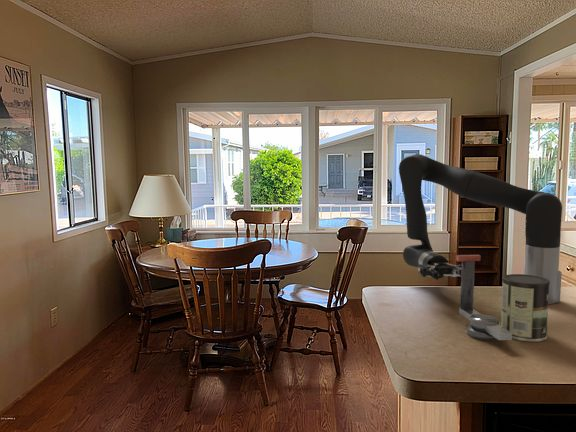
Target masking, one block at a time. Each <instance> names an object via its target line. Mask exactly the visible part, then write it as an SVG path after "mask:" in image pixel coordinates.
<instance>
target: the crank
mask: <svg viewBox="0 0 576 432" xmlns="http://www.w3.org/2000/svg"><path fill="white" fill-rule="evenodd" d="M455 255H456V254H455ZM481 257H482V256H481V255H480V254H457V255H456V256H455V261H456V262H461V264H462V268H461V277H460V301H459V303H460V304H459V313H458V314H460V315H462V317H464V318H465V319H467V320H468V321H470V323H469V324H470V327H471V328H472V329H474V330H477V331H481V332H488V333H489V334H491V335H492V336H494V337H495V338H497V339H498V340H497V341H512V340H513V339H512V333H511V332H510V331H508V330H507V329H505V328H503V327H502V326H501V324H500V319H499V318H498V317H496V316H495V315H494V316H493V315H491V314H485V313H480V312H478V311H477V310H476V309H474V293H475V292H474V291H475V268H476V267H475V265H476V263H475V262H481Z"/></svg>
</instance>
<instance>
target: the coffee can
mask: <svg viewBox="0 0 576 432" xmlns="http://www.w3.org/2000/svg"><path fill="white" fill-rule="evenodd" d="M501 279H502V290H501V291H502V294H501V295H502V299H501V323H500V326H502V327H503V328H505V329H507V330H508V331H510V332H511V333H512V340H515V341H516V340H517V341H523V342H531V343H532V342H534V343H536V342H537V343H539V342H542V341H543V342H544V341H546V340H547V338H548V313H549V304H548V297H549V285H550V281H549V280H548V279H546V278H543V277H539V276H533V275H524V273H512V274H506V275H503V276H502V278H501Z"/></svg>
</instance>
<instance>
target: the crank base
mask: <svg viewBox="0 0 576 432" xmlns="http://www.w3.org/2000/svg"><path fill="white" fill-rule="evenodd" d="M466 334H467V336H468V337H471V338H472V339H475V340H479V341H485V342H486V341H487V342H495V341H499V340H498V339H497V338H495V337H494V336H492V335H491V334H489V333H488V332H481V331H477V330H474V329H472V328H471V327H470V323H469V324H468V325H466Z"/></svg>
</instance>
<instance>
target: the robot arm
mask: <svg viewBox="0 0 576 432" xmlns="http://www.w3.org/2000/svg"><path fill="white" fill-rule="evenodd" d="M398 173H399V178H400V183H401V187H402V191H403V196H404V197H403V198H404V204H405V216H406V234H407V237H408V239H410V240H415V241H420V242H421V244H415V245H413V244H412V245H407V246H406V247H404V249H403V250H402V251H403V252H402V257H403V260H404V263H405V264H407V265H408V266H411V267H412V268H413V267H414V268H418V269H417V270H418V274H419V275H420V276H421V277H423V278H425V277H427V276H428V277H429V278H432V279H434V280H435V281H436V280H439V279H443V278H444V277H453V278H455V277H460V278H461V268H462V263H459V264H457V265H456V264H452V263H450V262H449V260H448V259H447V258H446V257H445V256H443V255H441V254H440V253H438V252H436V251H434V250H433V247H432V245H431V242H430V238H429V234H428V218H427V213H426V208H425V205H424V201H423V196H422V182H423V181H425V182H428V183H429V182H430V183H434V184H437V185H441V186H442V187H444V188H446V189H447V190H449V191H451V192H452V193H454V194H455V195H458V196H460V197H461V198H465V199H467V200H470V201H474V202H476V203H480V204H484V205H489V206H496V207H501V208H507V209H510V210H513V211H516V212H519V213H521V214H524V215H525V227H524V228H525V232H524V233H525V245H524V246H525V247H524V266H523V275H533V276H539V277H543V278H546V279H548V280H549V281H550V285H549V297H548V305H555V304H556V303H561V293H562V291H561V290H562V289H561V288H562V275H563V274H562V273H563V272H562V271H561V270H559V268H560V254H561V251H560V249H561V237H562V236H561V235H562V234H561V232H562V231H561V230H562V215H563V214H562V213H563V203H562V202H561V200H560V198H559V197H558V196H556V195H555V194H553V193H550V192H543V191H538V190H533V189H532V190H531V189H527V188H525V187H524V188H523V187H520V186H516V185H514V184H511V183H509V182H507V181H503V180H502V179H499V178H497V177H493V176H491V175H487V174H485V173H482V172H478V171H475V170H471V169H466V168H463V167H458V166H453V165H449V164H446V163H443V162H440V161H438V160H435V159H433V158H431V157H428V156H426V155H424V154H419V153H415V154H410V155H407V156H405V157H404V158H402V160H400V162H399V166H398Z"/></svg>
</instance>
